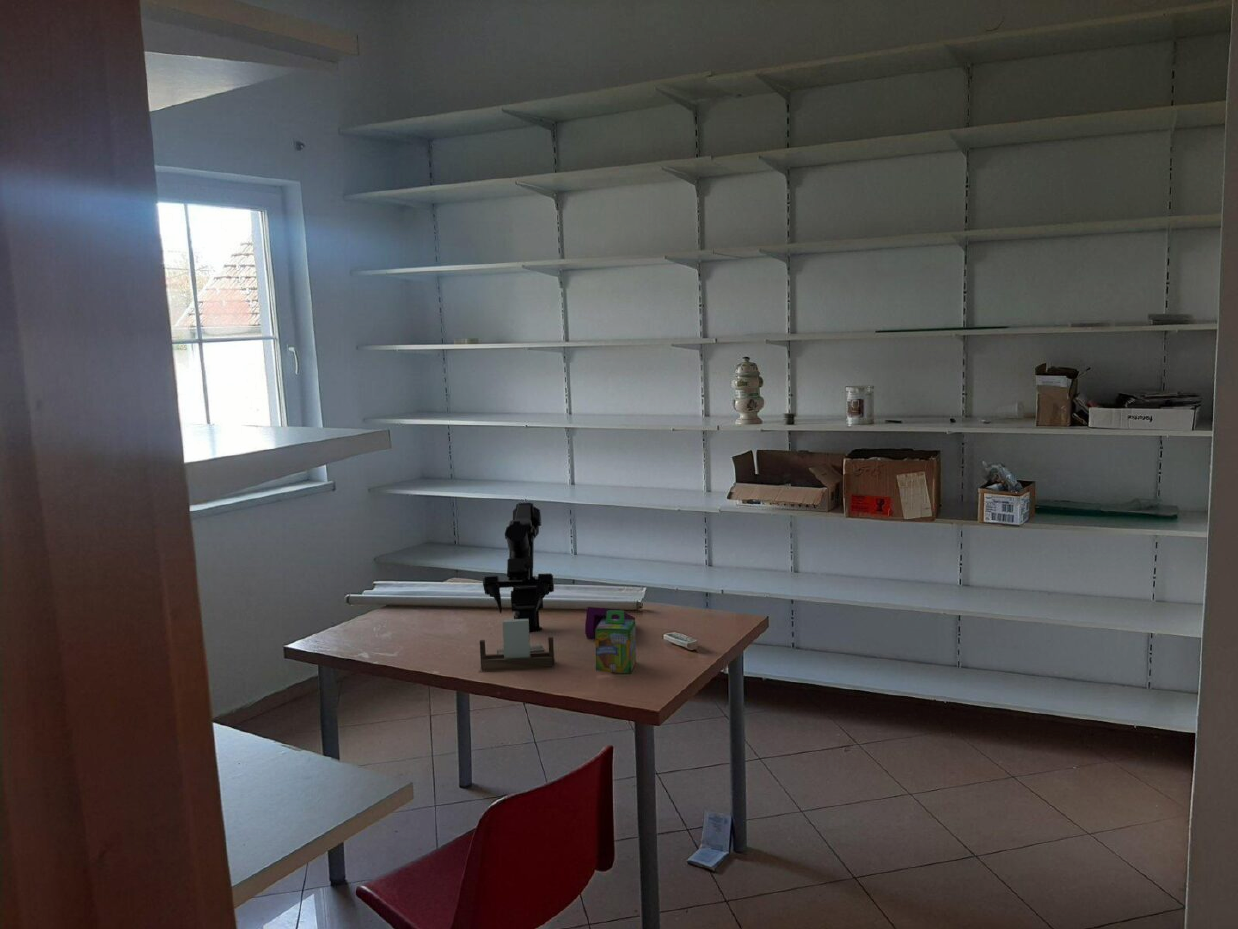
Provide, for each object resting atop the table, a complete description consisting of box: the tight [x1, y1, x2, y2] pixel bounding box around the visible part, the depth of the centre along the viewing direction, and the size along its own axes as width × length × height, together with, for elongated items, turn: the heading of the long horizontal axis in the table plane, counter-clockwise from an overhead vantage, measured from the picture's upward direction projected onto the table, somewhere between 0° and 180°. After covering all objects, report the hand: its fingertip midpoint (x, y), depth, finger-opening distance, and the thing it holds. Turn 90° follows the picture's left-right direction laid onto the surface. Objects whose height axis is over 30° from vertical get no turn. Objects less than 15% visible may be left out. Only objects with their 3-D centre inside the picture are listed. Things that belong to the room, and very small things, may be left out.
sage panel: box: [502, 618, 531, 658], centre depth 237 cm, size 2×6×12 cm, turn 91°
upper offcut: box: [496, 643, 546, 654], centre depth 246 cm, size 5×12×2 cm, turn 106°
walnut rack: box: [478, 636, 556, 673], centre depth 237 cm, size 8×19×8 cm, turn 91°
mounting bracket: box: [584, 606, 636, 640], centre depth 264 cm, size 10×8×18 cm
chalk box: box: [594, 609, 637, 675], centre depth 235 cm, size 9×9×15 cm
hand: (517, 611), depth 243 cm, fingers open, 9 cm apart
